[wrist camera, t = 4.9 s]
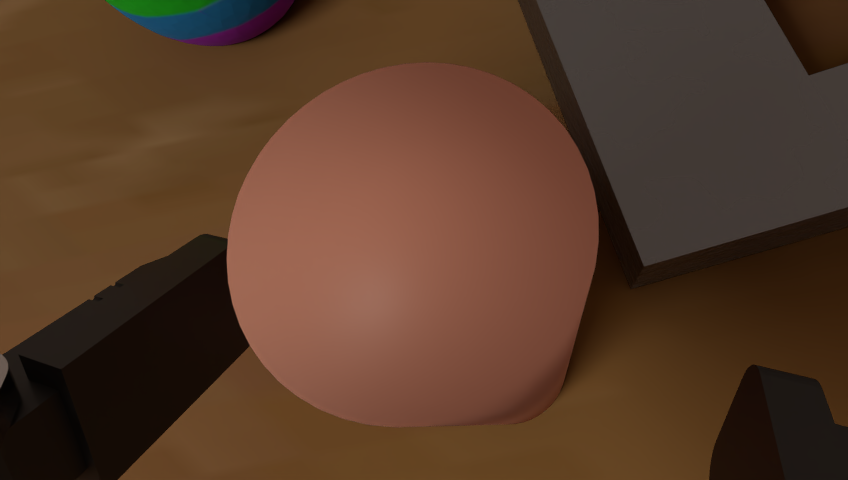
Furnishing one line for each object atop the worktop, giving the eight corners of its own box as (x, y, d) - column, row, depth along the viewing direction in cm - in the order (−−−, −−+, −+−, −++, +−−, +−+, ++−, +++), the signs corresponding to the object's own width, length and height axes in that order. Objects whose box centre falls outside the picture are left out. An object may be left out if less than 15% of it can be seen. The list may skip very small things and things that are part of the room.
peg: (463, 437, 16) (252, 473, 5) (433, 321, 17) (208, 127, 6) (583, 406, 15) (664, 362, 4) (544, 289, 17) (527, 15, 5)
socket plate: (630, 289, 16) (643, 266, 14) (507, -26, 20) (502, -84, 18) (1264, 106, 14) (1403, 45, 12) (985, -199, 18) (1047, -290, 16)
